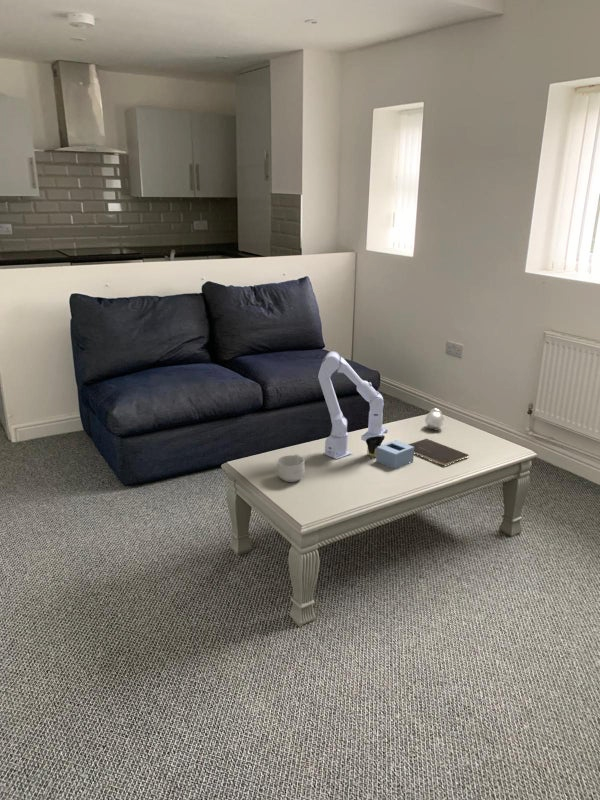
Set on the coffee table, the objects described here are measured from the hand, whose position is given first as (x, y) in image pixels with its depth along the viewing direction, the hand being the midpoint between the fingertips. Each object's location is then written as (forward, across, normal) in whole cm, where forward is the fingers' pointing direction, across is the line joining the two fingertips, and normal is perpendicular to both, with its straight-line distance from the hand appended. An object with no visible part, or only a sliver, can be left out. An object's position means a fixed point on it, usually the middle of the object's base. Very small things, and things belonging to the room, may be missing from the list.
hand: (373, 452), depth 272 cm
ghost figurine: (+2, +47, +3) cm, 47 cm away
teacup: (+2, -41, +6) cm, 41 cm away
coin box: (+1, +2, -10) cm, 10 cm away
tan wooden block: (+1, 0, 0) cm, 1 cm away
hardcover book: (+2, +22, -16) cm, 27 cm away
